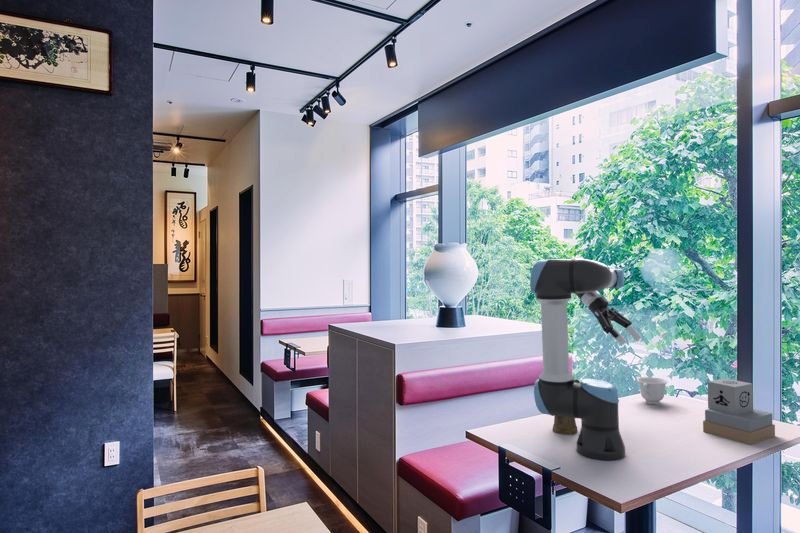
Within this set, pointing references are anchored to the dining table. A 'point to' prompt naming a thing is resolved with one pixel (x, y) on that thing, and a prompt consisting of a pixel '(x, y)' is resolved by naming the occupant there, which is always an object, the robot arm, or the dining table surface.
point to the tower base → (739, 433)
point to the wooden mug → (565, 423)
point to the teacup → (652, 389)
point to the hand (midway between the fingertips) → (632, 341)
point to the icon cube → (730, 396)
